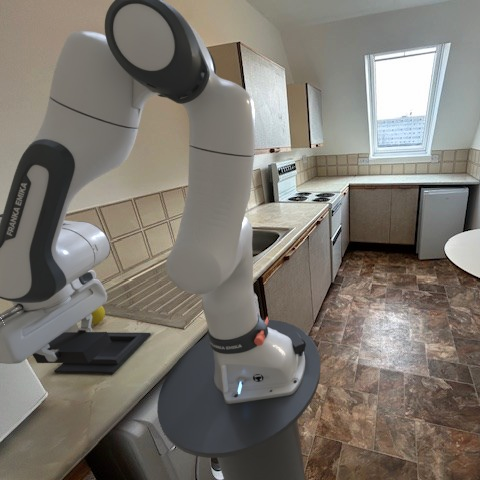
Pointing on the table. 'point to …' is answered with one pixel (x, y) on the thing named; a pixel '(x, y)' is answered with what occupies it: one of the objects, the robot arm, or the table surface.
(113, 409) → the table surface
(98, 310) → the lemon
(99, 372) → the base pad
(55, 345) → the black pad
